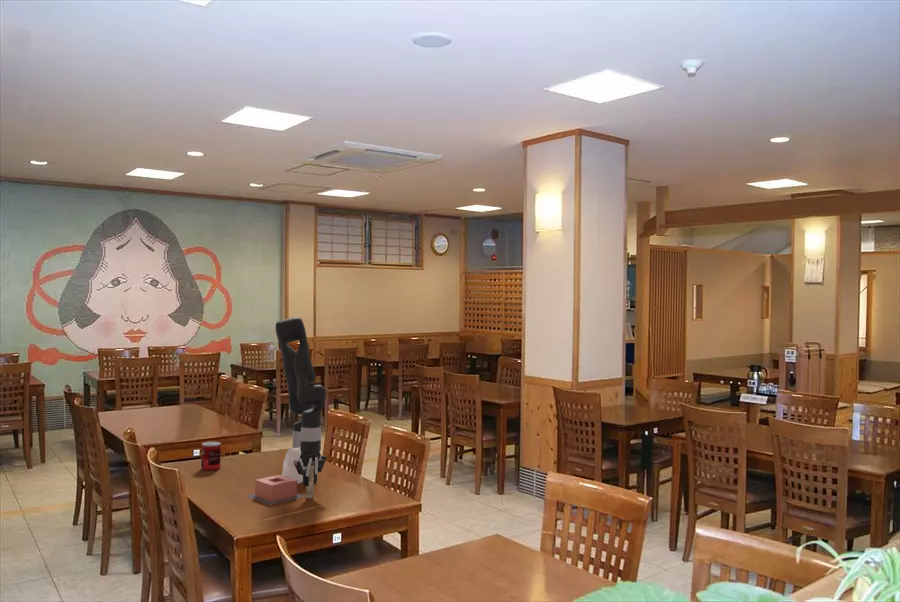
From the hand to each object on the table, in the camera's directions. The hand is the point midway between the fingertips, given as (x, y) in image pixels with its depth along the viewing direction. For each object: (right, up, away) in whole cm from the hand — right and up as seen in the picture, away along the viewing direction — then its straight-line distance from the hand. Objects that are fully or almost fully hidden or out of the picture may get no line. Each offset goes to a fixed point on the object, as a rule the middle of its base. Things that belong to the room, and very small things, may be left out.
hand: (309, 484), depth 260 cm
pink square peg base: (-13, -5, +1) cm, 14 cm away
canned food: (-51, -4, +42) cm, 66 cm away
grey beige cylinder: (0, -5, 0) cm, 5 cm away
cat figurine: (-12, -5, +21) cm, 25 cm away
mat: (-13, -5, +1) cm, 14 cm away
